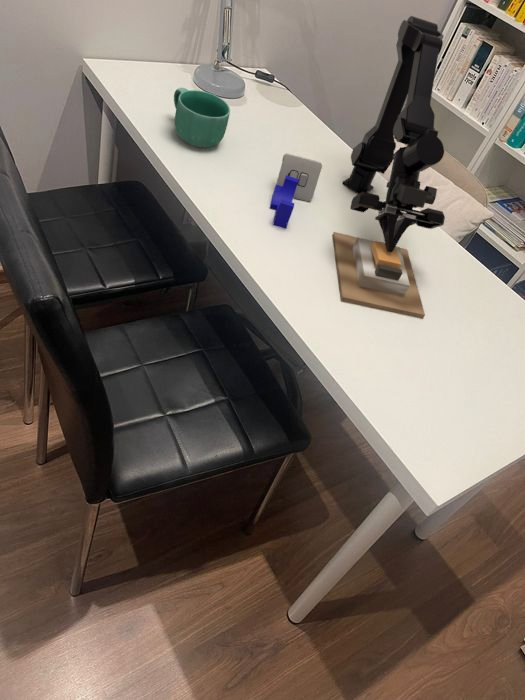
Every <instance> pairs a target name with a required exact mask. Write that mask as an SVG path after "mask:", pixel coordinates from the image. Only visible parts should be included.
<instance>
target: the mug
mask: <svg viewBox="0 0 525 700" xmlns="http://www.w3.org/2000/svg"><path fill="white" fill-rule="evenodd" d="M173 103H174V104H173V105H174V107H175V113H174V114H175V115H174V129H175V131H176V133H177V135H178V136H179V137H180V139H182V140H183V141H185V143H187V144H189V145H191V146H193V147H197V148H209V147H214V146H216V145H218V144H220V142H221V141H222V140H223V139H224V136H225V135H226V132H227V127H228V123H229V119H230V115H231V109H230V106H229V104H228V102H226V101H225V100H224V99H223V98H221V97H219V96H218V95H216V94H213V93H210V92H208V91H203V90H197V89H196V90H195V89H190V90H188V89H187V88H185V87H179V88H177V89H176V90H175V91H174V93H173Z"/></svg>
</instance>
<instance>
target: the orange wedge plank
mask: <svg viewBox="0 0 525 700" xmlns="http://www.w3.org/2000/svg"><path fill="white" fill-rule="evenodd" d="M372 241H373V243H372V245H371V248H372V252H373V255H374V259H375V263H376V265H377V266H378V264H382V265H386V266H390V267H395V268H399V269H400V267H401V265H402V264H401V261H400V258H399V255H398V252H397V249H396V246H397V245H396V246H395V248H394V250H393V252H387V249H386V245H385V242H381V241H377V240H372Z"/></svg>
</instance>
